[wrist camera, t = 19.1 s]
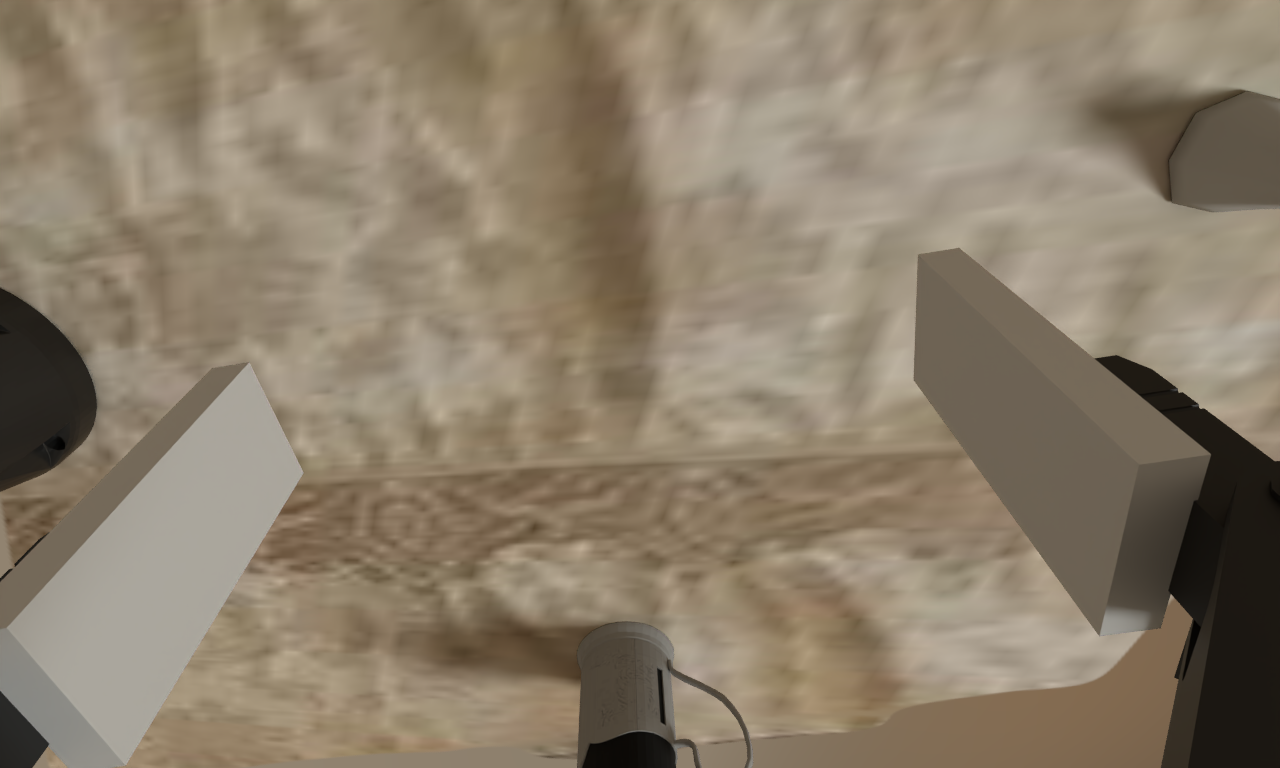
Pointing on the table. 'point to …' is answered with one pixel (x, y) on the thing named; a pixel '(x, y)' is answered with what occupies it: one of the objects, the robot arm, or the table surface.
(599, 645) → the glass holder
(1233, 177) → the flask
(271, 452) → the robot arm
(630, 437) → the table surface
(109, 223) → the table surface
